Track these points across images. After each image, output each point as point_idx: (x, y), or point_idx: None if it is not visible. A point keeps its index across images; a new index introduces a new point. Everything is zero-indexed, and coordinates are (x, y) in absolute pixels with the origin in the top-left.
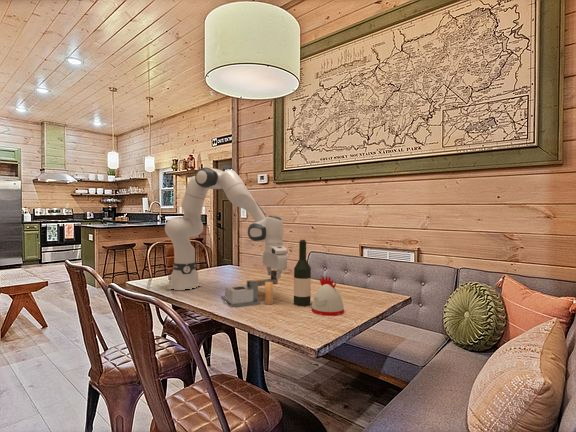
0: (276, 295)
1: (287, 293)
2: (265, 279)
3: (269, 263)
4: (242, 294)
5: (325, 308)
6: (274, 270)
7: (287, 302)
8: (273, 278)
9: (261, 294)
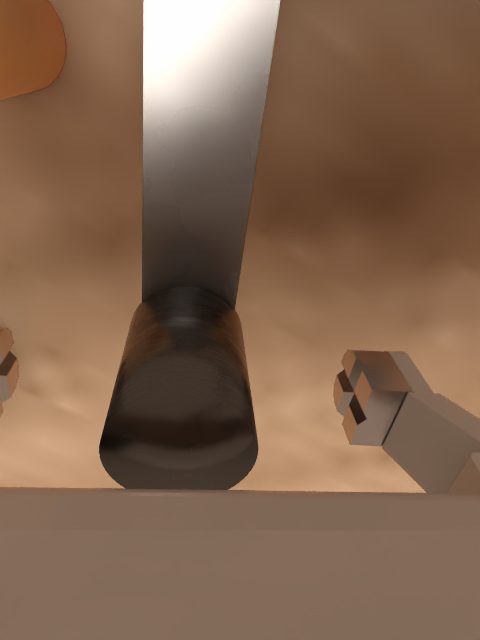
0: (293, 302)
1: (291, 399)
2: (238, 184)
3: (315, 637)
4: None
5: None
6: (235, 484)
7: (5, 254)
8: (137, 317)
9: (425, 204)
